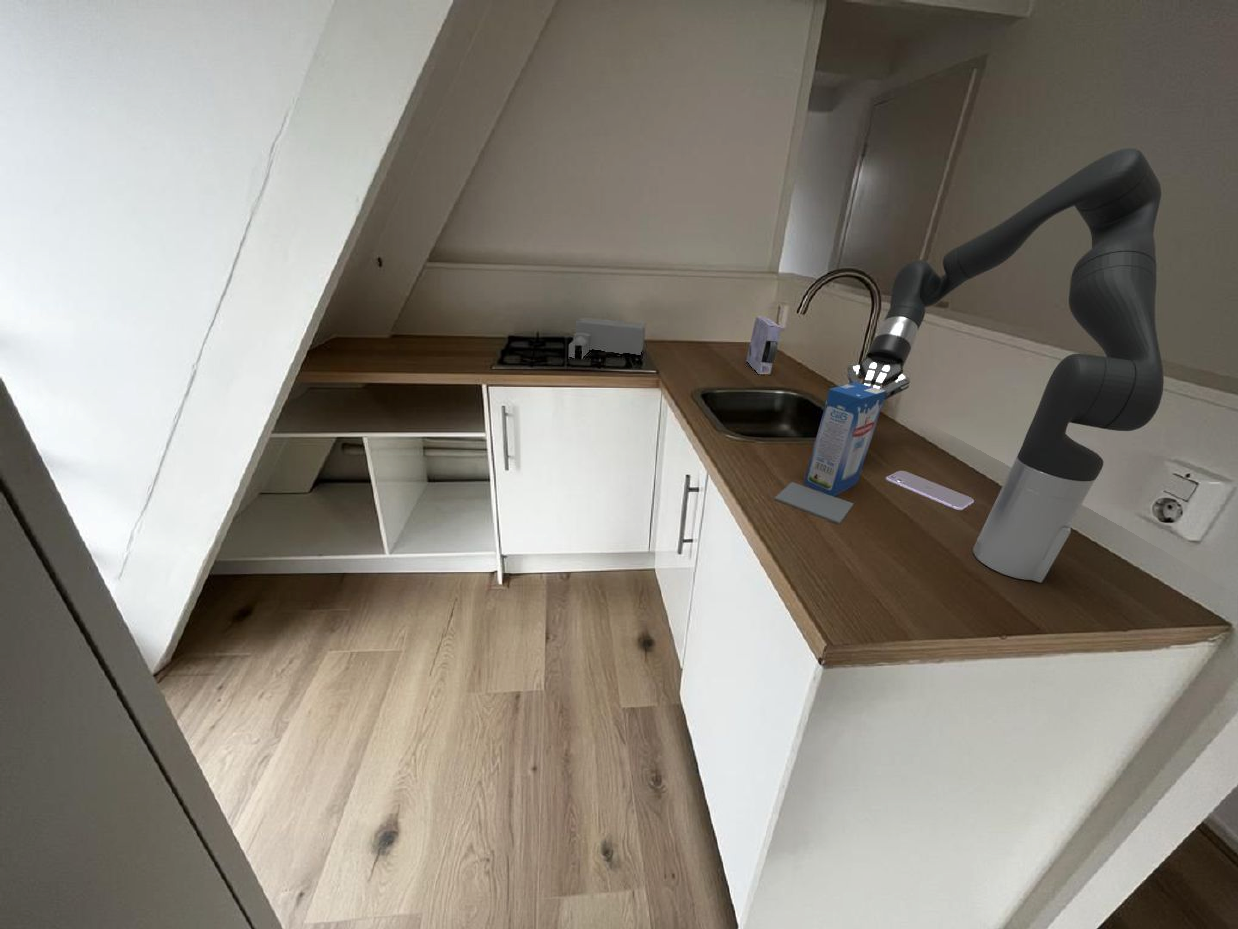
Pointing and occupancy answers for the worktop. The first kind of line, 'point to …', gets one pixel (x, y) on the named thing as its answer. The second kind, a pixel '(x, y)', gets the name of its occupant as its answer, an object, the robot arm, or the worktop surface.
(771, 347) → the cake pan box
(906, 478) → the mobile phone
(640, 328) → the grey toy box truck
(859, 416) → the milk carton
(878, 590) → the worktop surface
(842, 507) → the mat
